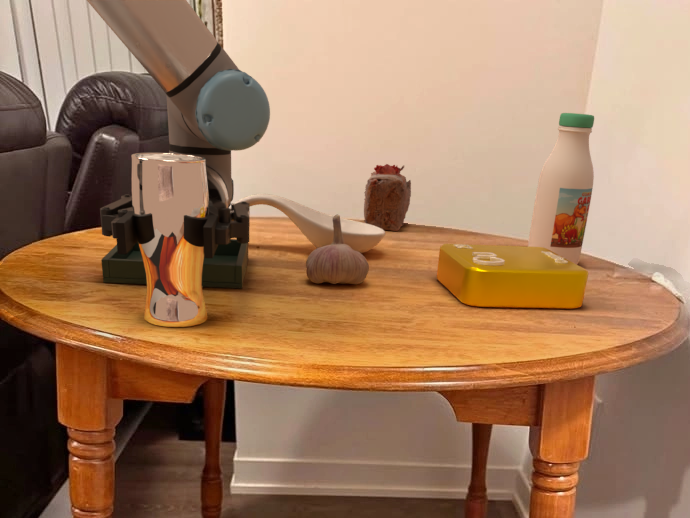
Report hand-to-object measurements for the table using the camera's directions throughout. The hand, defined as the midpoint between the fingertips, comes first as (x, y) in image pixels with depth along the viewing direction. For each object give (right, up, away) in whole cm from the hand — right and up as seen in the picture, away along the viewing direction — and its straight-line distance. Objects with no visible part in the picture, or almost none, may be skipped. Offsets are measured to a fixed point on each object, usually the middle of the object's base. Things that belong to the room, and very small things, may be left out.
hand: (164, 240), depth 69 cm
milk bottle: (+46, +11, +46) cm, 66 cm away
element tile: (+36, +2, +27) cm, 45 cm away
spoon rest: (+9, +12, +42) cm, 45 cm away
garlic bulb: (+15, +3, +26) cm, 30 cm away
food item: (+22, +23, +67) cm, 74 cm away
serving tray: (-5, +5, +27) cm, 27 cm away
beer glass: (-1, -5, +8) cm, 10 cm away
